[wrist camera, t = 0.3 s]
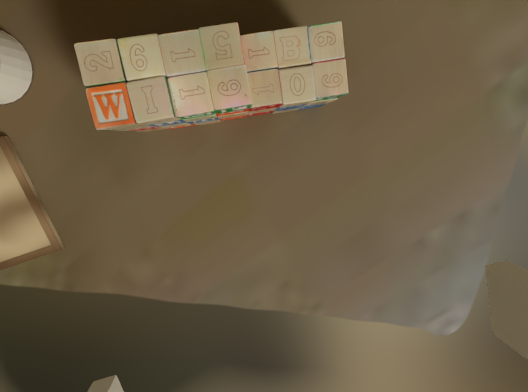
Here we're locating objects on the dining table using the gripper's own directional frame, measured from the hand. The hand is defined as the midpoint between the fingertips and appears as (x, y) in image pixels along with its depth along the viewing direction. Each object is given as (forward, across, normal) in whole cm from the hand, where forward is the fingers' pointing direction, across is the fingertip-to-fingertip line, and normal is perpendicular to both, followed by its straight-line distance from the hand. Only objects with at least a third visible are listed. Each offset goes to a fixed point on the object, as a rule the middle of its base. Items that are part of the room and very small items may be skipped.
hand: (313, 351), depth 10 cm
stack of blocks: (+28, 0, +13) cm, 31 cm away
